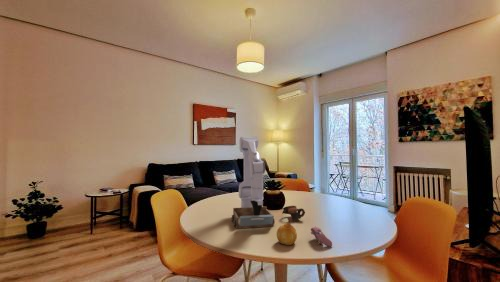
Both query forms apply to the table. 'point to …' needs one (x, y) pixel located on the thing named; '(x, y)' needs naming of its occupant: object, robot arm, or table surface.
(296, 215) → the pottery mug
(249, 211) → the cart bed
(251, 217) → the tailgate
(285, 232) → the fruit
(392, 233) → the table surface
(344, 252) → the table surface
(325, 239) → the pink animal figurine
